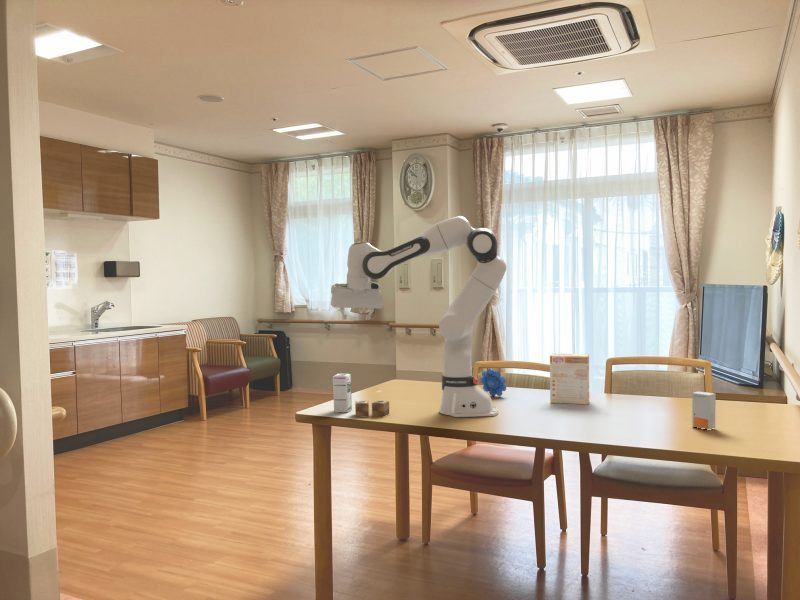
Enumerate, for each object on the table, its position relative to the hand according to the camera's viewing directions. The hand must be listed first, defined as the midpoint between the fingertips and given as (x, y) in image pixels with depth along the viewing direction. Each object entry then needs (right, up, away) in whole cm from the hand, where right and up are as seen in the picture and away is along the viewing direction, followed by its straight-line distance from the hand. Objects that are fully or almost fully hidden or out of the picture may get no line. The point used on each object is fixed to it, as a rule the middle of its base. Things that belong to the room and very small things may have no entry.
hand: (356, 319), depth 253 cm
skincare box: (+119, -36, -35) cm, 129 cm away
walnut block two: (+10, -36, -5) cm, 38 cm away
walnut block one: (+3, -36, -6) cm, 37 cm away
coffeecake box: (+86, -34, +13) cm, 94 cm away
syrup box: (-5, -36, +2) cm, 37 cm away
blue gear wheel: (+57, -34, +27) cm, 72 cm away
